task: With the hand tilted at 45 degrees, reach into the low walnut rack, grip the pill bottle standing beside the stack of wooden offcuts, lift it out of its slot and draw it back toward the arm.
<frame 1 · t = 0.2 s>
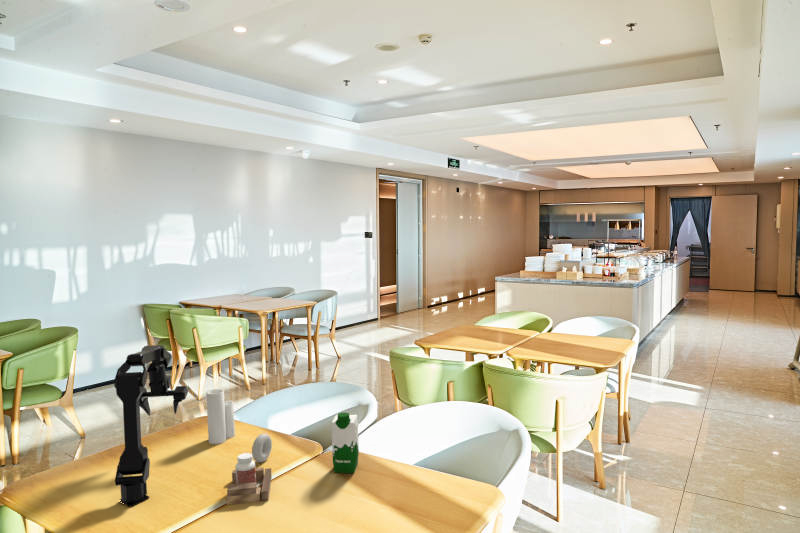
hand: (162, 414, 203), 15 cm above the table, tool pointing down, fingers open, 9 cm apart
vase: (221, 439, 218), on the table
milk carton: (346, 469, 189), on the table
grey rounded piece: (262, 461, 196), on the table
pill bottle: (246, 489, 176), resting in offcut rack
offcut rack: (246, 488, 176), on the table
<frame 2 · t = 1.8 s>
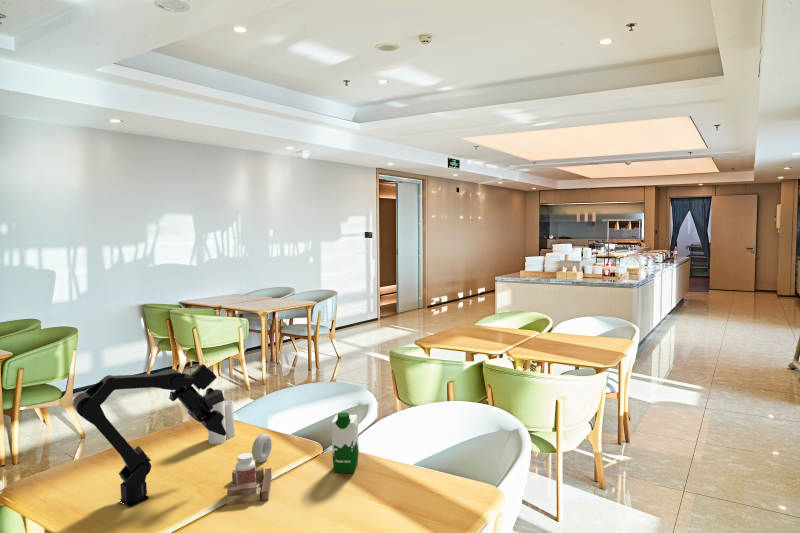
hand: (220, 430, 186), 15 cm above the table, tool tilted 35°, fingers open, 9 cm apart
nothing on the table moved.
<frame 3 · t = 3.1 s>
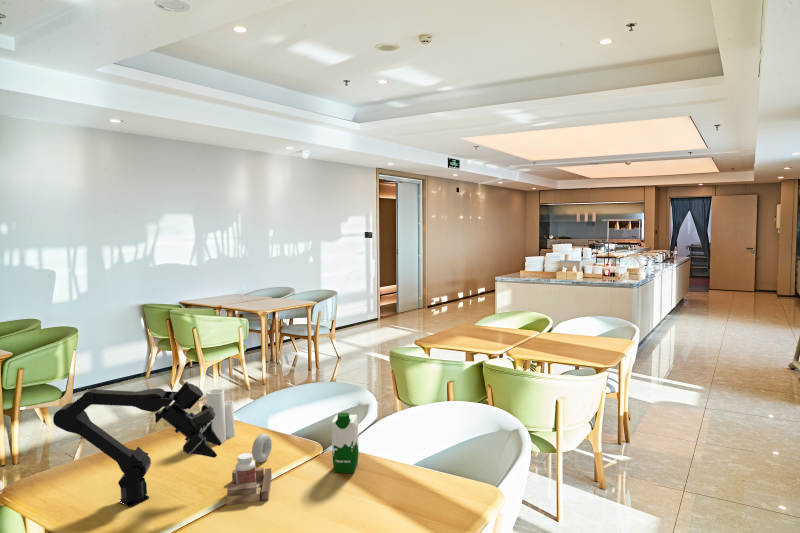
hand: (218, 450, 173), 14 cm above the table, tool tilted 45°, fingers open, 9 cm apart
nothing on the table moved.
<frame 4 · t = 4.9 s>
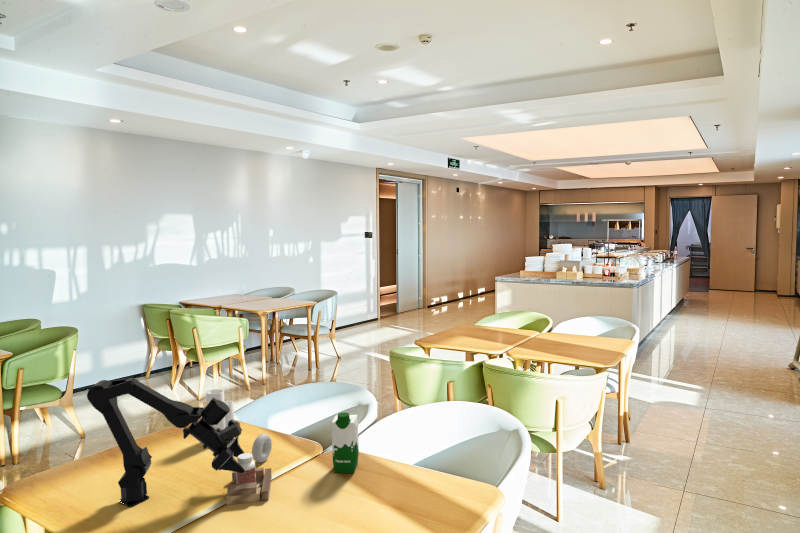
hand: (245, 465, 175), 8 cm above the table, tool tilted 45°, fingers open, 9 cm apart
nothing on the table moved.
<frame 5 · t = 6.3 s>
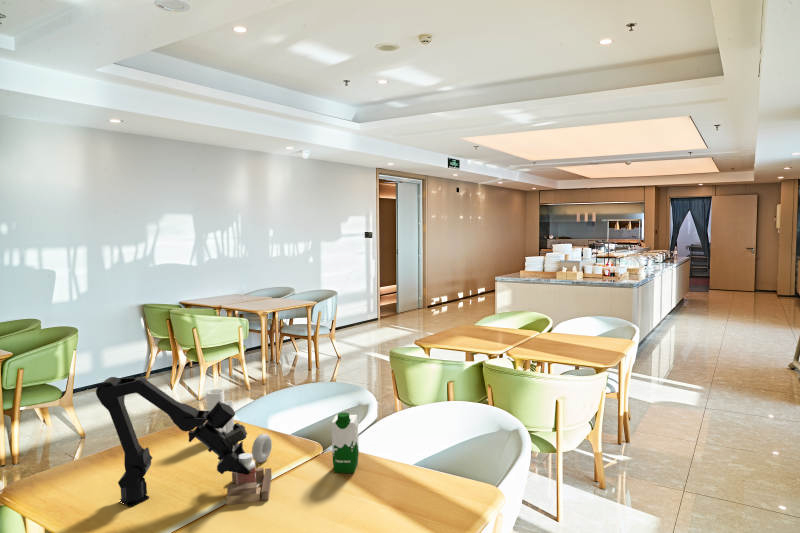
hand: (250, 468, 175), 7 cm above the table, tool tilted 45°, fingers closed on pill bottle, 6 cm apart
pill bottle: (246, 489, 176), resting in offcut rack, touching gripper
everything else where it was.
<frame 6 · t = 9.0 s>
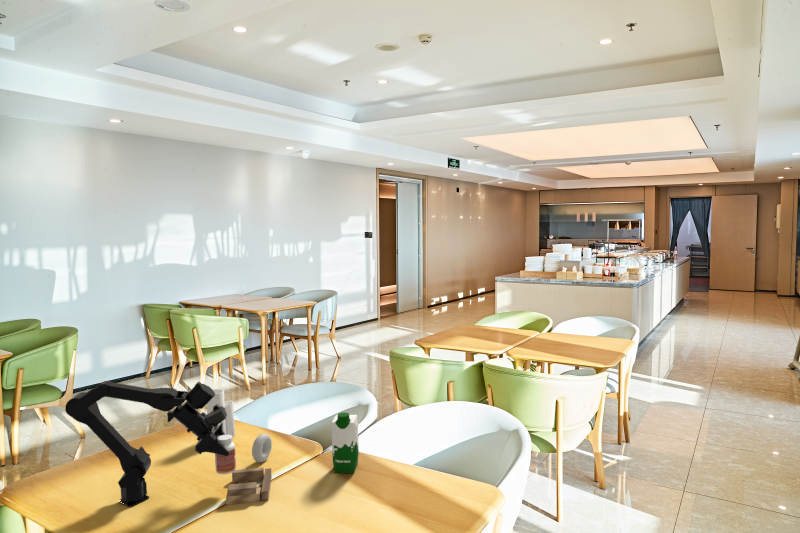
hand: (229, 450, 174), 13 cm above the table, tool tilted 45°, fingers closed on pill bottle, 6 cm apart
pill bottle: (225, 471, 174), point 6 cm above the table, touching gripper
everything else where it was.
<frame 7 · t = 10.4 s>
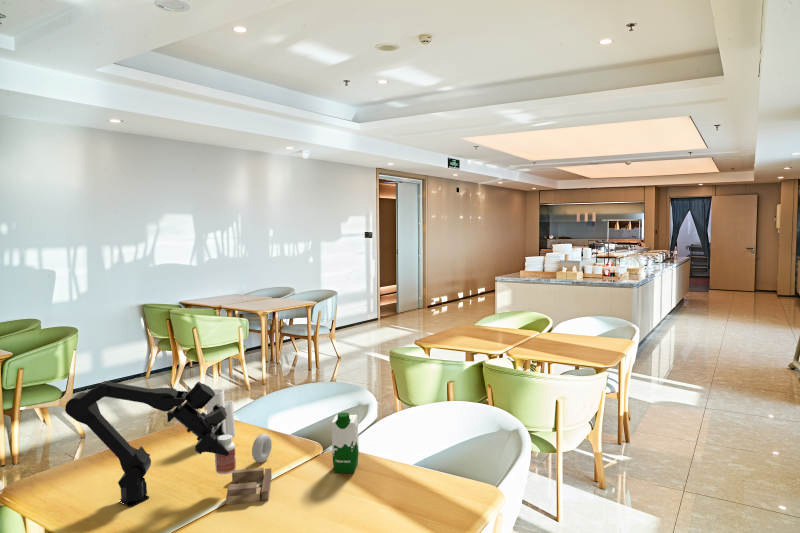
hand: (229, 450, 174), 13 cm above the table, tool tilted 45°, fingers closed on pill bottle, 6 cm apart
pill bottle: (225, 471, 174), point 7 cm above the table, touching gripper
everything else where it was.
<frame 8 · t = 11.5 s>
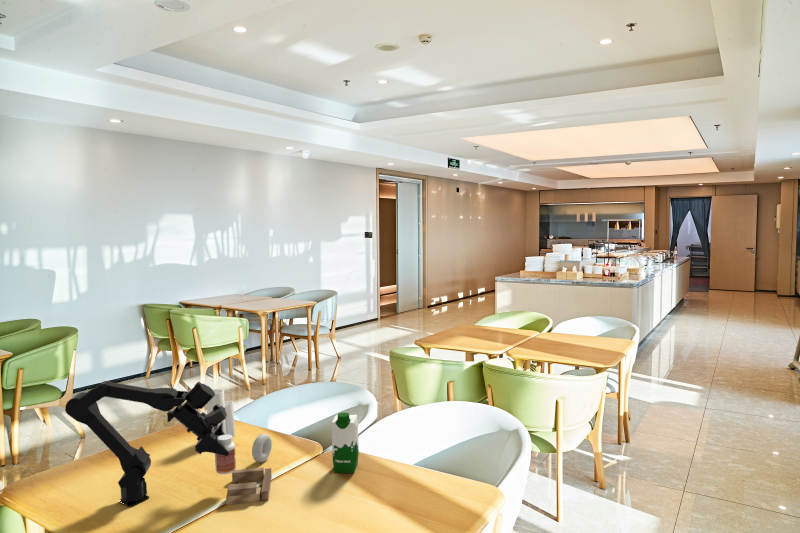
hand: (229, 450, 174), 13 cm above the table, tool tilted 45°, fingers closed on pill bottle, 6 cm apart
pill bottle: (225, 471, 174), point 7 cm above the table, touching gripper
everything else where it was.
at the end: the gripper is holding pill bottle; pill bottle point 6.5 cm above the table; pill bottle moved 8.9 cm from its start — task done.
